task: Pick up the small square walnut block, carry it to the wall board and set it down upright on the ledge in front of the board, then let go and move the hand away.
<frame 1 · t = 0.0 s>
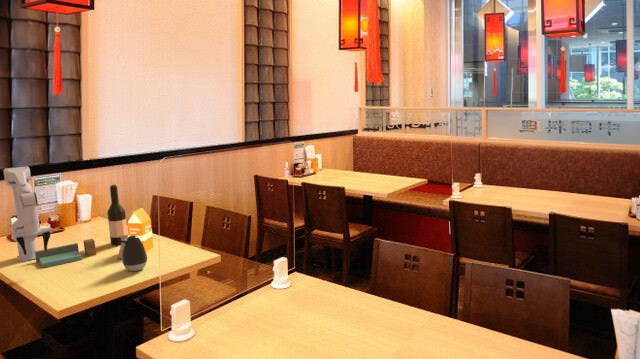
hand: (35, 252, 217), 10 cm above the table, tool pointing down, fingers open, 7 cm apart
orange juice: (142, 250, 247), on the table
wine bottle: (119, 243, 259), on the table
flask: (126, 257, 238), on the table
walnut block: (90, 254, 243), on the table
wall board: (60, 260, 236), on the table
black egg shape: (135, 269, 221), on the table
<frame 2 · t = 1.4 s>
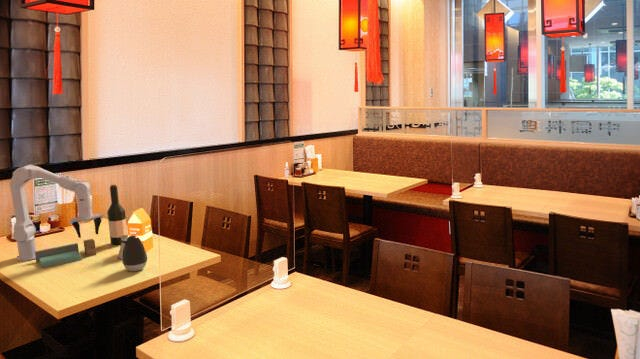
hand: (88, 235, 241), 9 cm above the table, tool pointing down, fingers open, 7 cm apart
nothing on the table moved.
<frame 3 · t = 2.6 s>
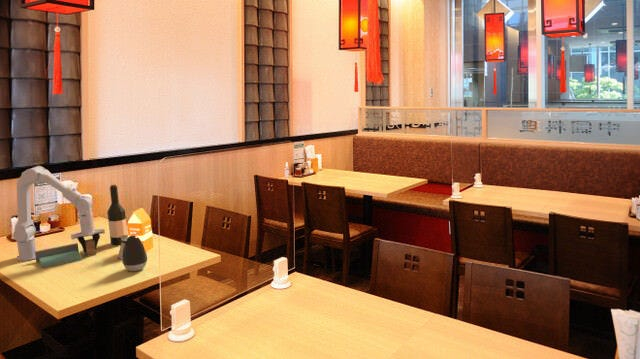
hand: (90, 250, 242), 2 cm above the table, tool pointing down, fingers closed on walnut block, 4 cm apart
walnut block: (90, 254, 243), on the table, touching gripper
everything else where it was.
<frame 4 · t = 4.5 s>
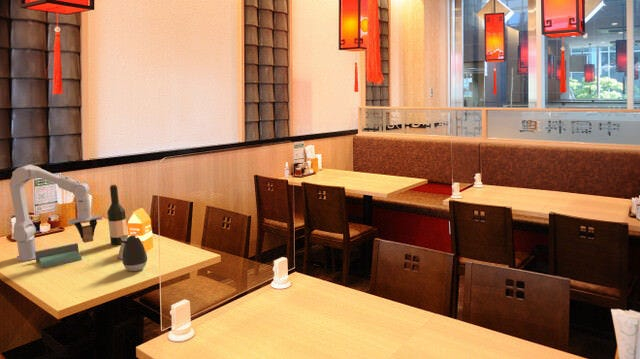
hand: (87, 236, 241), 9 cm above the table, tool pointing down, fingers closed on walnut block, 4 cm apart
walnut block: (87, 240, 241), point 7 cm above the table, touching gripper
everything else where it was.
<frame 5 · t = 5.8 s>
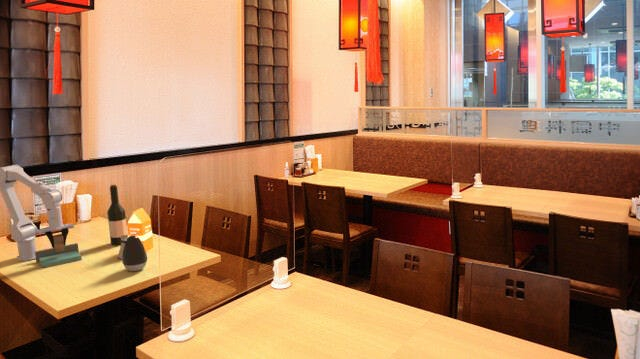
hand: (58, 246, 234), 7 cm above the table, tool pointing down, fingers closed on walnut block, 4 cm apart
walnut block: (59, 250, 234), point 5 cm above the table, touching gripper
everything else where it was.
when the fingers open (5 cm above the table, at t = 6.5 s): walnut block drops 1 cm, resting on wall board.
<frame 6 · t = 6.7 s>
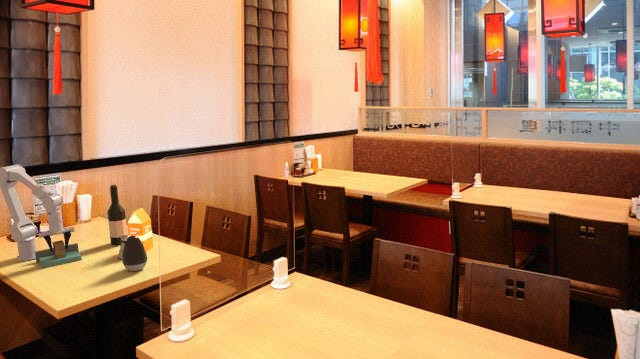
hand: (59, 249, 234), 5 cm above the table, tool pointing down, fingers open, 6 cm apart
walnut block: (60, 256, 235), point 2 cm above the table, touching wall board
everything else where it was.
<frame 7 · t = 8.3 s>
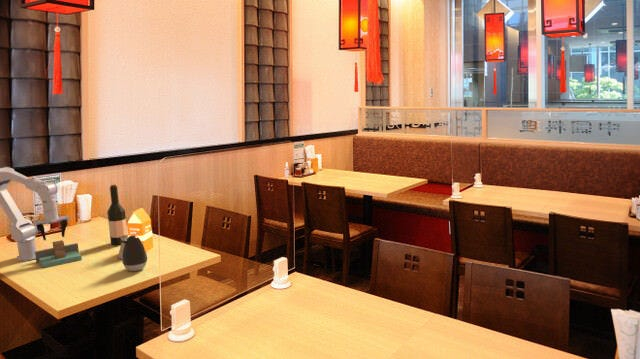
hand: (54, 238, 235), 10 cm above the table, tool pointing down, fingers open, 7 cm apart
nothing on the table moved.
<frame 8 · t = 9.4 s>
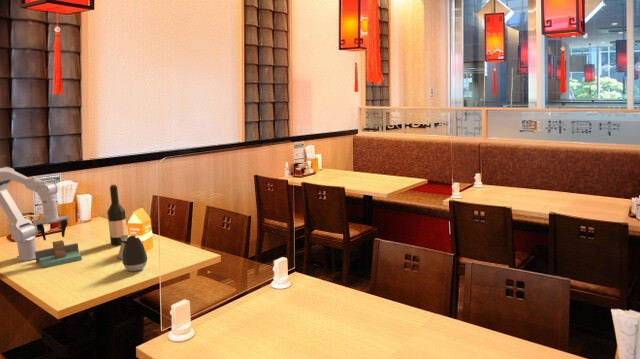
hand: (54, 238, 235), 10 cm above the table, tool pointing down, fingers open, 7 cm apart
nothing on the table moved.
at the end: walnut block inside the target area on the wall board (0.0 cm from its centre), point 2.0 cm above the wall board's base; walnut block tilted 0°; the gripper is holding nothing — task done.
